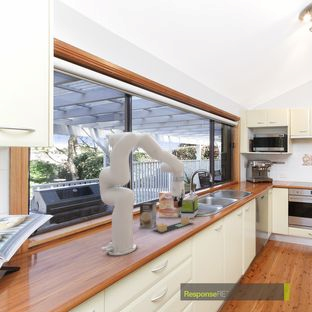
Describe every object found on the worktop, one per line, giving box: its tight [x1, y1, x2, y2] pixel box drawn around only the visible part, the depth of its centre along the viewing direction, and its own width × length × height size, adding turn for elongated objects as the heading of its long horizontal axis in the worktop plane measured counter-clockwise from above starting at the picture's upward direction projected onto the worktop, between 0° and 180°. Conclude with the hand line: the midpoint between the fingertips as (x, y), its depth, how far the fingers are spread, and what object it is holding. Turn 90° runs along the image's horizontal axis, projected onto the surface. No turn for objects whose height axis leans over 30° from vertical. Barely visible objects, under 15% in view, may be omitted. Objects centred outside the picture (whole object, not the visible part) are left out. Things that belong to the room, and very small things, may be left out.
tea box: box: [180, 195, 199, 219], centre depth 175 cm, size 15×10×15 cm
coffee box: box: [139, 201, 158, 229], centre depth 147 cm, size 9×6×16 cm
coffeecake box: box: [158, 190, 181, 218], centre depth 173 cm, size 15×7×20 cm, turn 88°
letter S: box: [174, 201, 181, 209], centre depth 148 cm, size 4×4×4 cm
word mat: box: [152, 217, 194, 235], centre depth 146 cm, size 26×10×4 cm, turn 142°
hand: (177, 205), depth 148 cm, fingers closed on letter S, 4 cm apart
